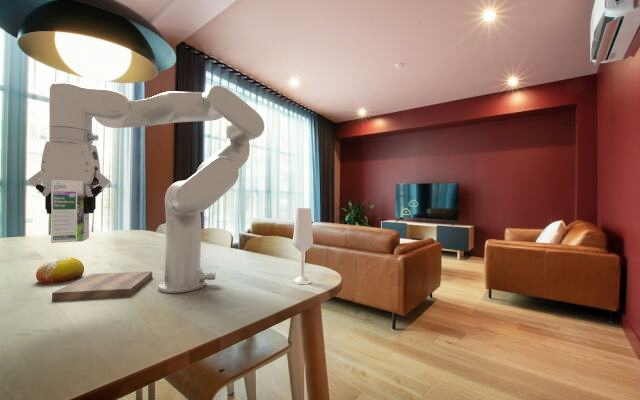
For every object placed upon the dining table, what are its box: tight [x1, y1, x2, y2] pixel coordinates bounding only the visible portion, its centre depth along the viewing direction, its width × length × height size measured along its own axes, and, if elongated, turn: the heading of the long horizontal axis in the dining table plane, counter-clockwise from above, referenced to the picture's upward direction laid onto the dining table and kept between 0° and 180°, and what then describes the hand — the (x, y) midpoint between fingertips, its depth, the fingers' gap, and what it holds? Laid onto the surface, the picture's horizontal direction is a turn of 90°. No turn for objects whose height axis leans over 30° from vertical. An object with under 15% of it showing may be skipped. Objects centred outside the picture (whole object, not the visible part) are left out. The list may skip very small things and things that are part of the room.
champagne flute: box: [292, 207, 314, 282], centre depth 89 cm, size 7×7×24 cm
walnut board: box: [51, 271, 153, 302], centre depth 79 cm, size 17×18×2 cm
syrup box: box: [50, 180, 90, 244], centre depth 65 cm, size 6×6×14 cm
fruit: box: [35, 257, 85, 285], centre depth 86 cm, size 11×10×8 cm
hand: (71, 212), depth 65 cm, fingers closed on syrup box, 6 cm apart
